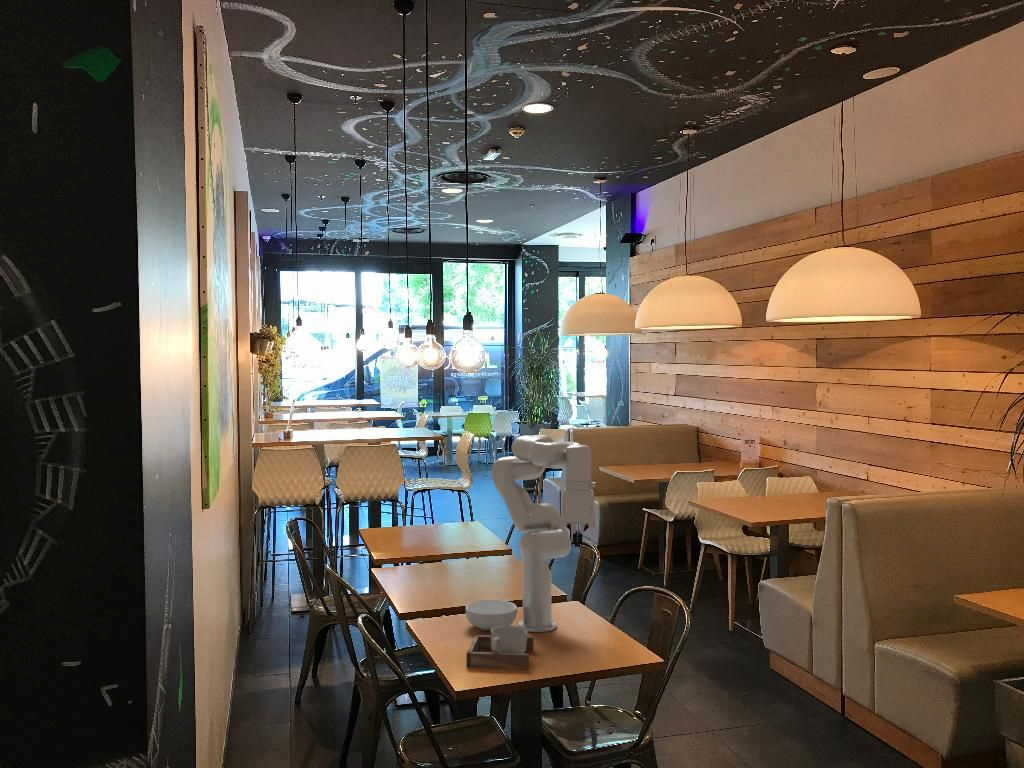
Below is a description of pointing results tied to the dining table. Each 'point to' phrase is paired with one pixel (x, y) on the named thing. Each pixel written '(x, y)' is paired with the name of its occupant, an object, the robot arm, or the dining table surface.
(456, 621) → the dining table surface
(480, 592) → the dining table surface
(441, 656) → the dining table surface
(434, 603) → the dining table surface
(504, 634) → the teacup
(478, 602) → the cereal bowl
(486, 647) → the walnut bay
